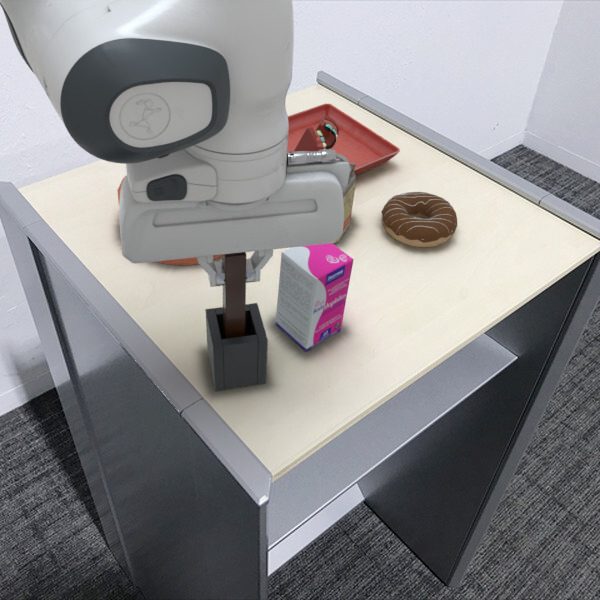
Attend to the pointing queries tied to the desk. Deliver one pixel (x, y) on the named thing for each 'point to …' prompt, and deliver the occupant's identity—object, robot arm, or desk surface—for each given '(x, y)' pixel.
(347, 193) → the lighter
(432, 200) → the donut
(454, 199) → the desk surface
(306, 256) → the supplement box
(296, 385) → the desk surface
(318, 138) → the dental model
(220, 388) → the holder
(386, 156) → the red square tray
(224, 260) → the stick
